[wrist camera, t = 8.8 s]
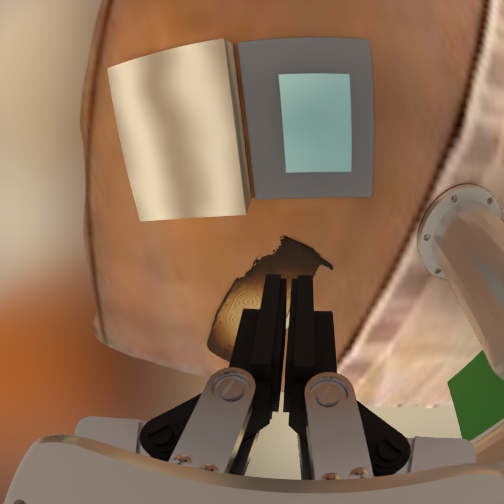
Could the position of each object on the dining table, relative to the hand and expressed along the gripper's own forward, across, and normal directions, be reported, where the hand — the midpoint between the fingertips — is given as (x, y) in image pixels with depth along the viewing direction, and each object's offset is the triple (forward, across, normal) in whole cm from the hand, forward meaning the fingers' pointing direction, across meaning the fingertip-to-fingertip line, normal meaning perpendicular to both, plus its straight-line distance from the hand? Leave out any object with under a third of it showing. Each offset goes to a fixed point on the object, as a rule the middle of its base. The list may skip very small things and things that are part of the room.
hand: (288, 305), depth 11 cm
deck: (+20, +10, -4) cm, 23 cm away
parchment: (+21, +5, +20) cm, 30 cm away
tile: (+18, -2, -4) cm, 18 cm away
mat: (+20, -2, -4) cm, 21 cm away
